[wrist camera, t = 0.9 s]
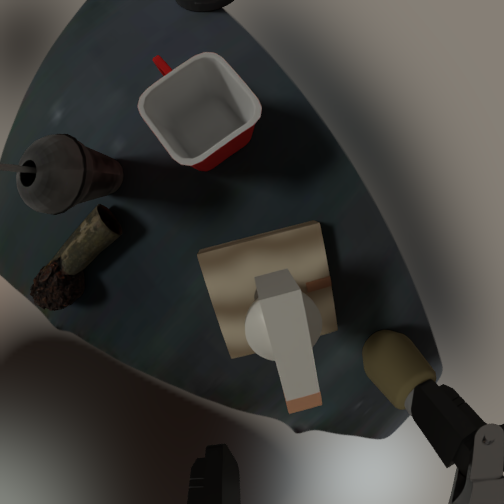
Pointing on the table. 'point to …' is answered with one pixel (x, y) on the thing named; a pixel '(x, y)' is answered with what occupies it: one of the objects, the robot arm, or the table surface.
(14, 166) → the beverage cup
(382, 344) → the squeeze bottle
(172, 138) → the mug
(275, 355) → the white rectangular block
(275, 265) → the post block
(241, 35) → the table surface
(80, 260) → the morel mushroom
